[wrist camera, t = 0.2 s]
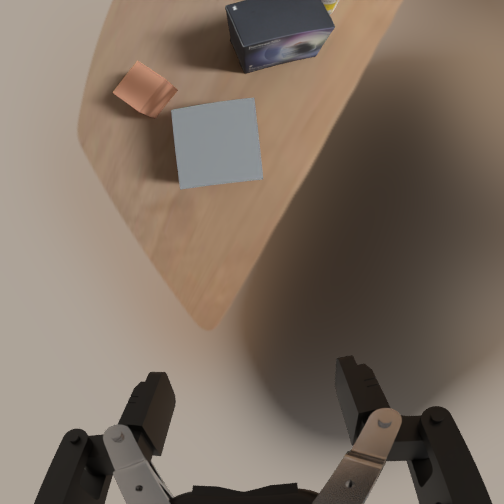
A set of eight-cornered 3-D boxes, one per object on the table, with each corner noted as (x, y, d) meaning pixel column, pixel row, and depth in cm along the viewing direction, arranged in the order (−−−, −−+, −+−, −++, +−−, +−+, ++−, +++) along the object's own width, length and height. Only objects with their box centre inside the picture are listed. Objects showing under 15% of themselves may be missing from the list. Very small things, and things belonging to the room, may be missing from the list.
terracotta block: (152, 73, 33) (137, 60, 28) (178, 90, 34) (165, 79, 28) (130, 100, 34) (112, 92, 29) (155, 118, 35) (139, 112, 30)
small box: (244, 77, 34) (241, 49, 24) (229, 39, 32) (221, 4, 22) (318, 58, 33) (337, 28, 23) (301, 21, 31) (314, -15, 21)
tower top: (180, 115, 32) (171, 110, 28) (254, 105, 32) (254, 97, 28) (188, 186, 35) (180, 189, 31) (262, 177, 34) (263, 179, 30)
